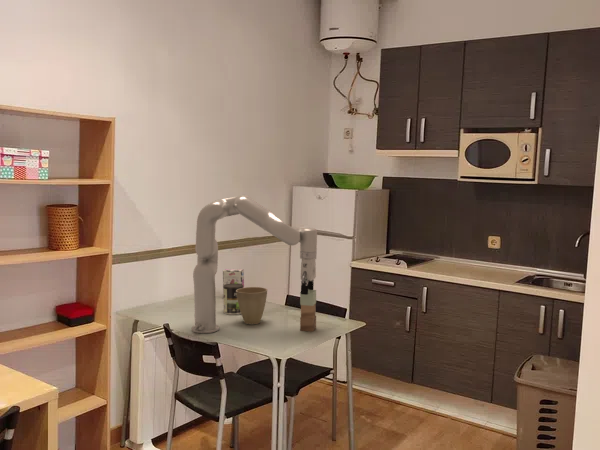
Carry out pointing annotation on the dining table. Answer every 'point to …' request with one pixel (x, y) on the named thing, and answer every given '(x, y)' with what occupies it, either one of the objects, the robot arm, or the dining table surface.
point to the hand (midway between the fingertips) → (307, 292)
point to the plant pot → (252, 303)
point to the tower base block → (307, 324)
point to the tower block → (308, 311)
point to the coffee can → (231, 299)
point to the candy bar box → (233, 277)
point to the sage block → (308, 298)
